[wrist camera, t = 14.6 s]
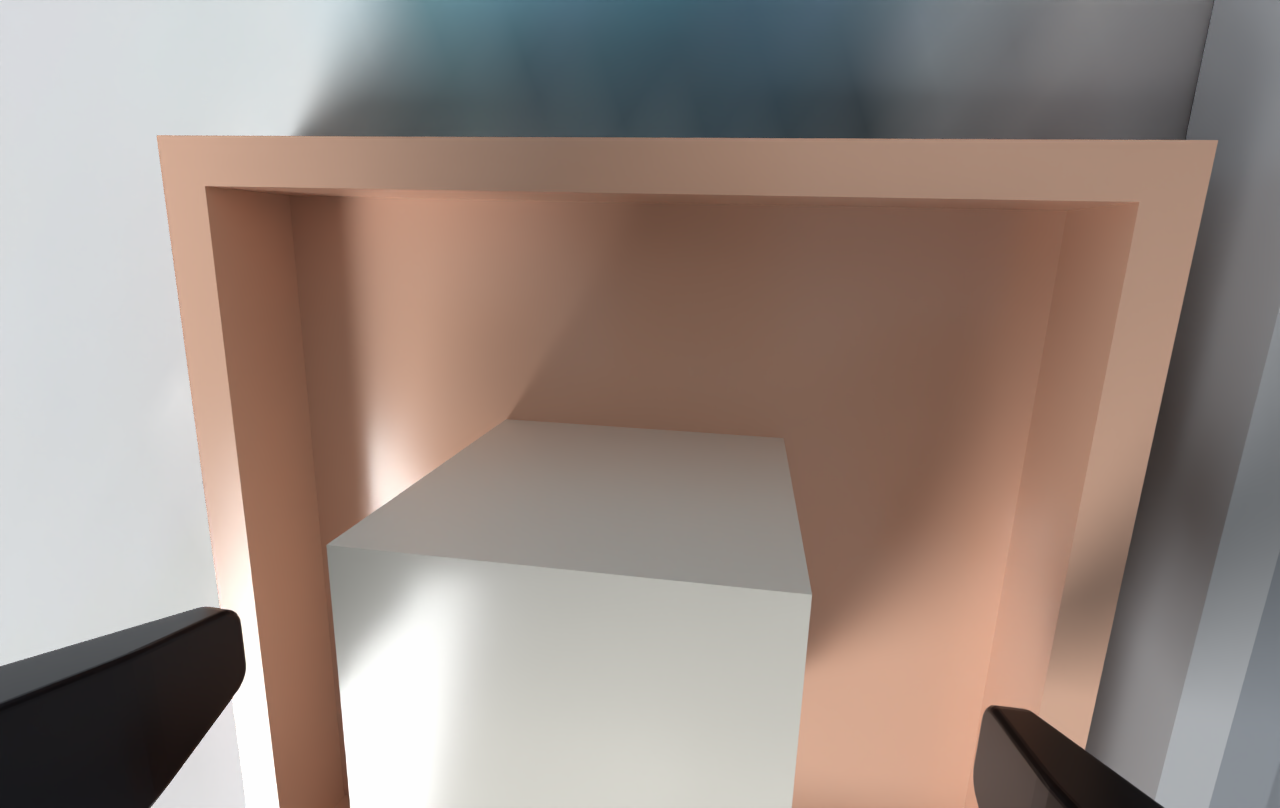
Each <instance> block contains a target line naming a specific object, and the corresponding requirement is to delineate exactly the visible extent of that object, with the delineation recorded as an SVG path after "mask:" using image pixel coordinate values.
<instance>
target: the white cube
mask: <svg viewBox="0 0 1280 808" xmlns="http://www.w3.org/2000/svg"><path fill="white" fill-rule="evenodd" d="M326 547H327V558H328V569H329V580H330V591H331V601H332V612H333V623H334V634H335V645H336V656H337V666H338V677H339V688H340V699H341V710H342V721H343V732H344V742H345V753H346V764H347V775H348V786H349V797H350V807H351V808H792V800H793V789H794V779H795V768H796V758H797V747H798V737H799V726H800V716H801V705H802V695H803V685H804V674H805V664H806V653H807V643H808V632H809V622H810V611H811V601H812V592H811V586H810V581H809V575H808V570H807V564H806V559H805V553H804V547H803V542H802V536H801V531H800V525H799V520H798V514H797V509H796V503H795V498H794V492H793V487H792V481H791V476H790V470H789V465H788V459H787V454H786V448H785V443H784V438H775V437H760V436H745V435H731V434H716V433H701V432H687V431H672V430H657V429H643V428H628V427H613V426H599V425H584V424H569V423H555V422H540V421H525V420H511V419H506V420H504V421H503V422H501V423H500V424H499V425H497V426H496V427H494V428H493V429H491V430H490V431H489V432H487V433H486V434H484V435H483V436H481V437H480V438H479V439H477V440H476V441H474V442H473V443H471V444H470V445H469V446H467V447H466V448H464V449H463V450H461V451H460V452H459V453H457V454H456V455H454V456H453V457H451V458H450V459H449V460H447V461H446V462H444V463H443V464H441V465H440V466H439V467H437V468H436V469H434V470H433V471H431V472H430V473H429V474H427V475H426V476H424V477H423V478H421V479H420V480H419V481H417V482H416V483H414V484H413V485H411V486H410V487H409V488H407V489H406V490H404V491H403V492H401V493H400V494H399V495H397V496H396V497H394V498H393V499H391V500H390V501H389V502H387V503H386V504H384V505H383V506H381V507H380V508H379V509H377V510H376V511H374V512H373V513H371V514H370V515H369V516H367V517H366V518H364V519H363V520H361V521H360V522H359V523H357V524H356V525H354V526H353V527H351V528H350V529H349V530H347V531H346V532H344V533H343V534H341V535H340V536H338V537H337V538H336V539H334V540H333V541H331V542H330V543H328V544H327V545H326Z"/></svg>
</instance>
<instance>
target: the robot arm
mask: <svg viewBox="0 0 1280 808" xmlns="http://www.w3.org/2000/svg"><path fill="white" fill-rule="evenodd" d="M245 674H246V658H245V650H244V642H243V634H242V626H241V620H240V618H239V616H238V614H237V613H236V612H234V611H233V610H229V609H221V608H214V607H200V608H196V609H193V610H189V611H186V612H183V613H179V614H176V615H173V616H169V617H166V618H162V619H159V620H156V621H152V622H149V623H145V624H142V625H139V626H135V627H132V628H129V629H125V630H122V631H118V632H115V633H112V634H108V635H105V636H101V637H98V638H95V639H91V640H88V641H85V642H81V643H78V644H74V645H71V646H68V647H64V648H61V649H57V650H54V651H51V652H47V653H44V654H40V655H37V656H34V657H30V658H27V659H24V660H20V661H17V662H13V663H10V664H7V665H3V666H0V808H151V806H152V805H153V804H154V803H155V802H156V800H157V799H158V798H159V796H160V795H161V794H162V792H163V791H164V790H165V789H166V787H167V786H168V785H169V783H170V782H171V781H172V779H173V778H174V777H175V775H176V774H177V773H178V771H179V770H180V768H181V767H182V766H183V764H184V763H185V762H186V760H187V759H188V758H189V756H190V755H191V754H192V752H193V751H194V749H195V748H196V747H197V745H198V744H199V743H200V741H201V740H202V739H203V737H204V736H205V734H206V733H207V732H208V730H209V729H210V728H211V726H212V725H213V724H214V722H215V721H216V720H217V718H218V717H219V715H220V714H221V713H222V711H223V710H224V709H225V707H226V706H227V705H228V703H229V702H230V701H231V699H232V698H233V696H234V695H235V694H236V692H237V691H238V690H239V688H240V686H241V684H242V682H243V680H244V677H245ZM973 784H974V791H975V796H976V800H977V804H978V808H1164V807H1163V806H1162V805H1160V804H1159V803H1157V802H1156V801H1155V800H1153V799H1152V798H1151V797H1149V796H1148V795H1146V794H1145V793H1144V792H1142V791H1141V790H1140V789H1138V788H1137V787H1135V786H1134V785H1133V784H1131V783H1130V782H1129V781H1127V780H1126V779H1124V778H1123V777H1122V776H1120V775H1119V774H1117V773H1116V772H1115V771H1113V770H1112V769H1111V768H1109V767H1108V766H1106V765H1105V764H1104V763H1102V762H1101V761H1100V760H1098V759H1097V758H1095V757H1094V756H1093V755H1091V754H1090V753H1088V752H1087V751H1086V750H1084V749H1083V748H1082V747H1080V746H1079V745H1077V744H1076V743H1075V742H1073V741H1072V740H1071V739H1069V738H1068V737H1066V736H1065V735H1064V734H1062V733H1061V732H1060V731H1058V730H1057V729H1055V728H1054V727H1053V726H1051V725H1050V724H1048V723H1047V722H1046V721H1044V720H1043V719H1042V718H1040V717H1039V716H1037V715H1036V714H1035V713H1033V712H1032V711H1030V710H1027V709H1023V708H1015V707H1006V706H998V705H991V706H989V707H987V708H986V710H985V712H984V714H983V717H982V721H981V727H980V733H979V738H978V744H977V750H976V756H975V761H974V768H973Z"/></svg>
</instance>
